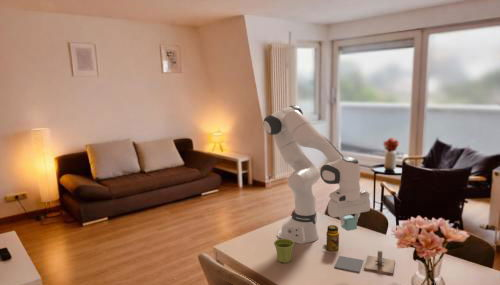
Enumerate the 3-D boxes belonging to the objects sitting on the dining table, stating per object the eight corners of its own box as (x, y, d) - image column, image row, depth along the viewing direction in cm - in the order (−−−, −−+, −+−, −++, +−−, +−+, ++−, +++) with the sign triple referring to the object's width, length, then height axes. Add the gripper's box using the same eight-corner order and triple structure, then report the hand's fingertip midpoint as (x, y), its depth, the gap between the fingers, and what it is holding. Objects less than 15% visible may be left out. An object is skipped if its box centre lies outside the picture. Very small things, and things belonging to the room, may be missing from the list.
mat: (334, 268, 159) (334, 266, 159) (339, 256, 169) (339, 255, 169) (359, 272, 154) (359, 271, 154) (362, 261, 164) (362, 259, 164)
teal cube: (341, 227, 160) (341, 216, 159) (350, 225, 162) (350, 214, 161) (347, 230, 156) (347, 220, 155) (356, 229, 157) (356, 218, 156)
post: (363, 269, 157) (364, 255, 155) (367, 257, 167) (367, 243, 166) (392, 275, 151) (393, 260, 150) (394, 262, 162) (395, 248, 161)
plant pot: (271, 257, 170) (270, 241, 169) (288, 253, 174) (287, 237, 172) (280, 266, 162) (279, 249, 160) (297, 262, 165) (297, 244, 164)
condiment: (339, 253, 172) (339, 230, 170) (321, 251, 175) (321, 228, 173) (339, 246, 179) (340, 224, 177) (323, 244, 182) (323, 223, 179)
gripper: (364, 188, 162) (364, 216, 164) (326, 194, 155) (326, 224, 158) (373, 192, 156) (373, 221, 158) (333, 199, 149) (333, 229, 152)
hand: (349, 223), depth 158 cm, fingers closed on teal cube, 5 cm apart
